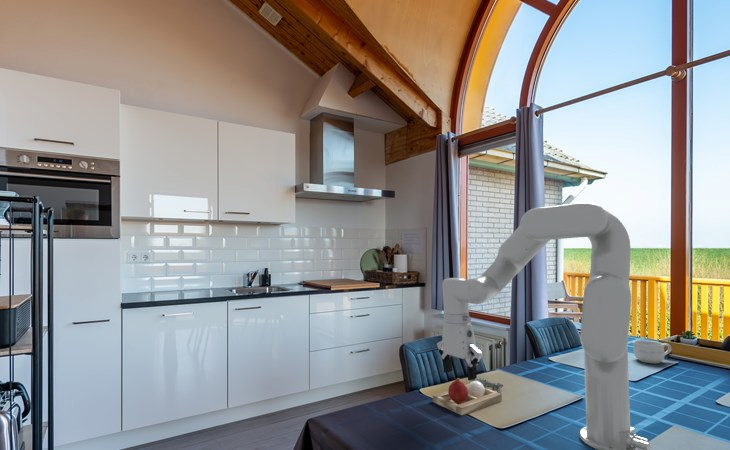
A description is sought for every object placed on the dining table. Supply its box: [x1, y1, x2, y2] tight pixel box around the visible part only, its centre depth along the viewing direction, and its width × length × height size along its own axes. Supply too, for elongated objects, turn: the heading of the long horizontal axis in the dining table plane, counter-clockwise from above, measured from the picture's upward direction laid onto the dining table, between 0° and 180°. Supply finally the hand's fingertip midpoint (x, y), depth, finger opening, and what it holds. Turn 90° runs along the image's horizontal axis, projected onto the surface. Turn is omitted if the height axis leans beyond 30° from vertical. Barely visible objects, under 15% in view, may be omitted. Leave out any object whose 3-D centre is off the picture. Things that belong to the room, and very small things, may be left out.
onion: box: [448, 377, 468, 405], centre depth 121 cm, size 6×6×8 cm
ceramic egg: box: [468, 381, 485, 398], centre depth 125 cm, size 5×5×5 cm
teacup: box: [632, 340, 672, 364], centre depth 165 cm, size 14×11×8 cm
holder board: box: [432, 383, 503, 416], centre depth 123 cm, size 12×18×3 cm, turn 124°
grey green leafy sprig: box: [470, 377, 504, 394], centre depth 133 cm, size 11×8×4 cm
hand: (459, 375), depth 121 cm, fingers open, 9 cm apart
